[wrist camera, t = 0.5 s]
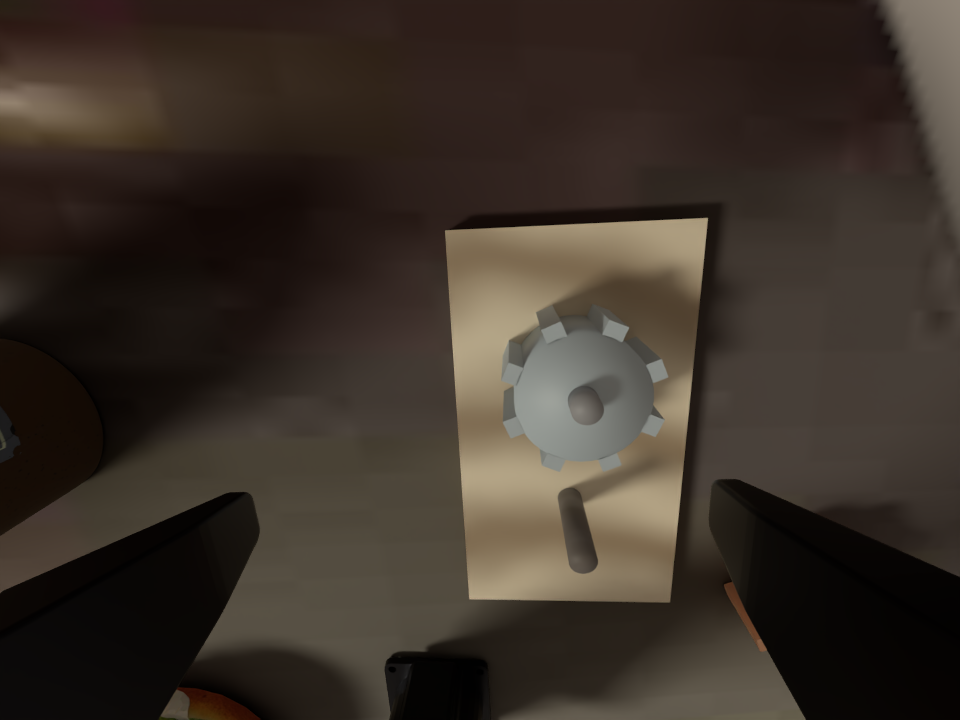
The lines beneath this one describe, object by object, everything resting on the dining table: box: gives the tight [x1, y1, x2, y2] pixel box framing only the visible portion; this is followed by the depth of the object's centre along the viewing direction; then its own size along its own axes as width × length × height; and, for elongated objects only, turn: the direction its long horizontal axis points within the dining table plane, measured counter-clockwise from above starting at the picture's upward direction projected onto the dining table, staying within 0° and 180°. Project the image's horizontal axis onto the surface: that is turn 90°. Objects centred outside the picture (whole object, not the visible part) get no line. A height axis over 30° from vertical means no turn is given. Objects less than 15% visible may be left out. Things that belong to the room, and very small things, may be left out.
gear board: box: [445, 218, 708, 603], centre depth 20 cm, size 20×11×6 cm, turn 3°
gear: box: [501, 304, 668, 472], centre depth 18 cm, size 6×6×4 cm
